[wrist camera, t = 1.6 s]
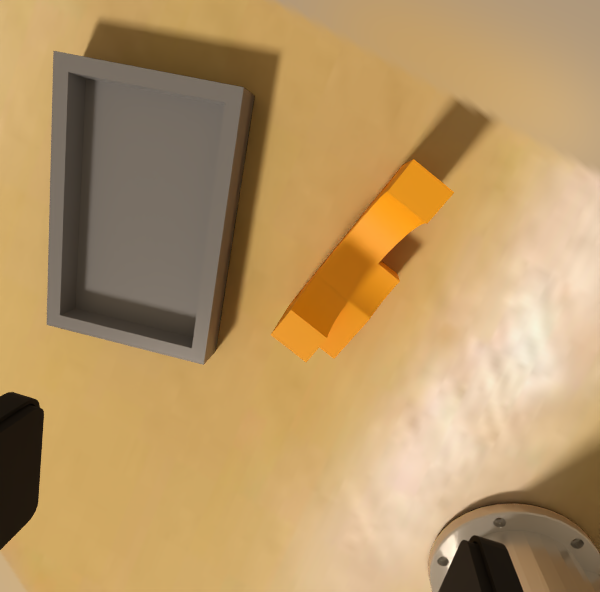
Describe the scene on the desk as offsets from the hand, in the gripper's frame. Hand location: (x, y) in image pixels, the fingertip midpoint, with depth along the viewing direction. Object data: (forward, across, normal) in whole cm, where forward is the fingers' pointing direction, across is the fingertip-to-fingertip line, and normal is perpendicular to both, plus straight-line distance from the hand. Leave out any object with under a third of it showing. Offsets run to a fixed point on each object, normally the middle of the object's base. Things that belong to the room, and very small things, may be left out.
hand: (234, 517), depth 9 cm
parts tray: (+21, +13, -2) cm, 25 cm away
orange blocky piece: (+22, -2, -3) cm, 22 cm away
